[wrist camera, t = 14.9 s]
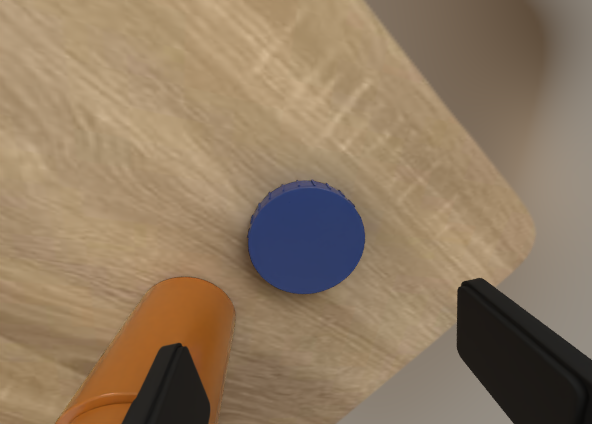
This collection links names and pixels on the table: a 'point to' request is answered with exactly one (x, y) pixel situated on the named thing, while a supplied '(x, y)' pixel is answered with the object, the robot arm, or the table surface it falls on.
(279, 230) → the jar lid
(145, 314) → the jam jar
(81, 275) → the table surface
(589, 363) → the robot arm
